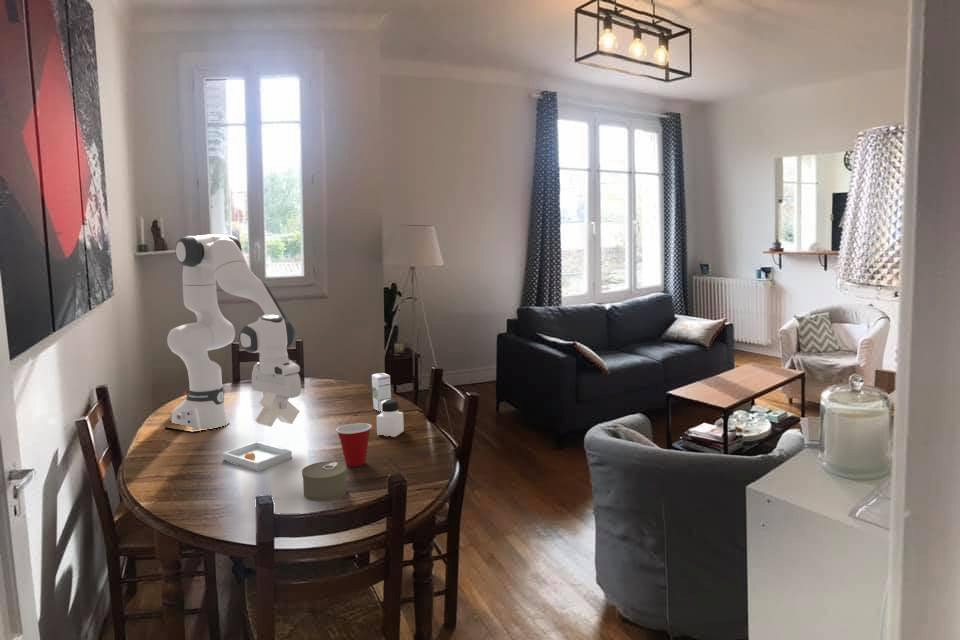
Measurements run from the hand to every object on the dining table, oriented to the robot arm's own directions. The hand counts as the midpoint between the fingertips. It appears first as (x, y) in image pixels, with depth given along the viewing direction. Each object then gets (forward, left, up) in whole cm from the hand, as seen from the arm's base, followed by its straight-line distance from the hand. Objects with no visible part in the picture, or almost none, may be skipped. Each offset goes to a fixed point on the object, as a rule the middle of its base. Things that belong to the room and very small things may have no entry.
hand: (276, 407), depth 209 cm
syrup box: (+15, +52, -15) cm, 56 cm away
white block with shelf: (+1, +4, -6) cm, 7 cm away
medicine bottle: (+29, +25, -15) cm, 41 cm away
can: (+30, -27, -15) cm, 43 cm away
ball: (-3, -12, -13) cm, 18 cm away
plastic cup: (+29, -5, -15) cm, 33 cm away
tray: (-3, -8, -15) cm, 17 cm away
